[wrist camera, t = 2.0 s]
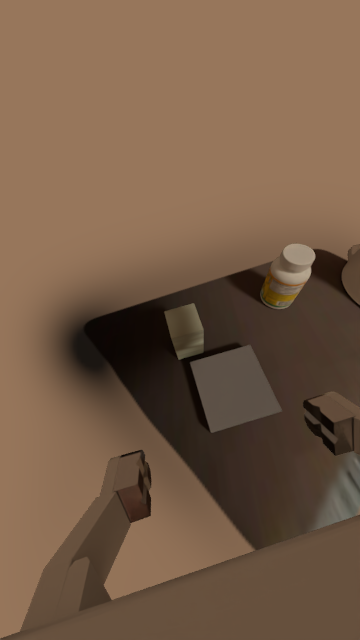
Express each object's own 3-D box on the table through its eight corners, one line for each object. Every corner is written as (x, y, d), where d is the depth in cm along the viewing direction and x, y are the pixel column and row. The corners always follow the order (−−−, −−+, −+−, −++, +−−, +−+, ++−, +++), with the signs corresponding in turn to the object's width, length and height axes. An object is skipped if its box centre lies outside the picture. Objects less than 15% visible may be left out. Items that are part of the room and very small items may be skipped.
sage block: (195, 330, 33) (193, 303, 26) (203, 352, 31) (203, 329, 24) (172, 337, 32) (164, 311, 26) (178, 359, 30) (171, 338, 24)
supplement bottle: (282, 315, 32) (309, 275, 24) (253, 299, 34) (269, 256, 26) (298, 294, 34) (329, 250, 26) (269, 280, 36) (289, 234, 28)
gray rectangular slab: (247, 349, 30) (250, 344, 28) (276, 412, 26) (282, 411, 24) (190, 366, 30) (189, 362, 28) (210, 432, 25) (210, 432, 24)
